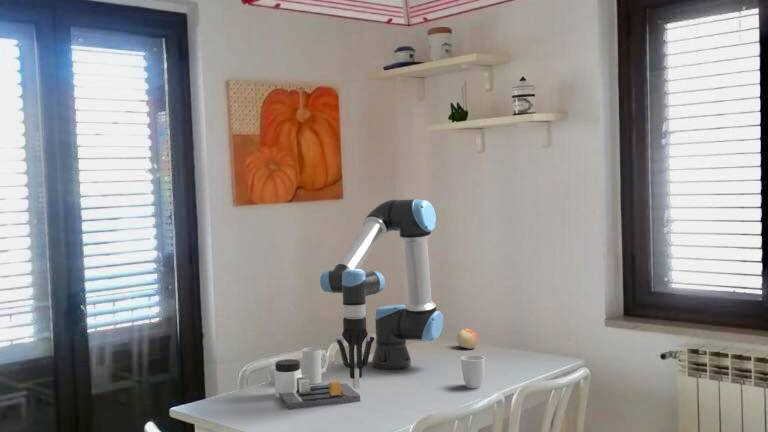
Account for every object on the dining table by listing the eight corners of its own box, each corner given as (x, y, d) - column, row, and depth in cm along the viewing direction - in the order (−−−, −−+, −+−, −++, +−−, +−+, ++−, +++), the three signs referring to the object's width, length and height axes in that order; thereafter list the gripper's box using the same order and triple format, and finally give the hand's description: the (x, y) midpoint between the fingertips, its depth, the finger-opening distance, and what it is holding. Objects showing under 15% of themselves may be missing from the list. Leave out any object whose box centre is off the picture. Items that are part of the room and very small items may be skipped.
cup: (486, 384, 285) (486, 355, 284) (483, 390, 277) (482, 360, 277) (463, 382, 287) (463, 354, 287) (459, 388, 279) (459, 360, 279)
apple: (467, 345, 350) (466, 326, 350) (482, 348, 343) (482, 329, 343) (452, 348, 344) (452, 329, 344) (467, 351, 338) (467, 332, 337)
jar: (285, 392, 281) (284, 358, 281) (305, 394, 278) (304, 359, 277) (271, 399, 273) (270, 363, 273) (291, 401, 270) (290, 365, 269)
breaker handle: (338, 392, 268) (337, 380, 268) (340, 394, 265) (340, 382, 265) (329, 393, 267) (329, 381, 267) (331, 395, 264) (331, 383, 264)
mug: (309, 385, 288) (308, 352, 287) (299, 382, 293) (298, 349, 293) (333, 380, 294) (332, 348, 293) (323, 377, 299) (322, 345, 299)
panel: (346, 388, 283) (345, 370, 282) (360, 401, 266) (359, 381, 266) (277, 396, 275) (277, 376, 275) (287, 409, 259) (287, 389, 259)
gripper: (370, 313, 273) (371, 383, 274) (332, 316, 269) (334, 387, 270) (376, 317, 266) (378, 388, 267) (338, 320, 262) (340, 392, 263)
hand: (356, 387), depth 268 cm, fingers closed
